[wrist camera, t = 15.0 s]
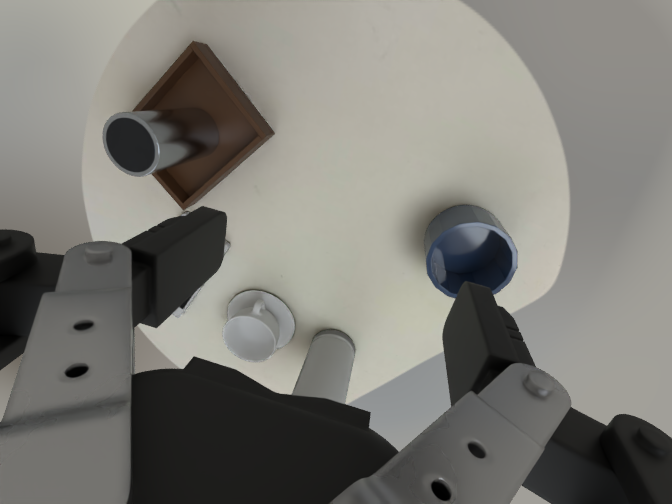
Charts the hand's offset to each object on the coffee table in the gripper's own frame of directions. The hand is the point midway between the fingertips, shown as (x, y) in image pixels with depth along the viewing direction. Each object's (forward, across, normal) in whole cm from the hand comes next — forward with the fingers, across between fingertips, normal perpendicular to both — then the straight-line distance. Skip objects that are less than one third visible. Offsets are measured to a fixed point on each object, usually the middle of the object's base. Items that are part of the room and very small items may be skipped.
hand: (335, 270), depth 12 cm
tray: (+30, +21, +4) cm, 37 cm away
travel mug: (+30, 0, +28) cm, 41 cm away
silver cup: (+29, +21, +4) cm, 36 cm away
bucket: (+30, -11, +8) cm, 33 cm away
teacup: (+30, +11, +27) cm, 42 cm away
